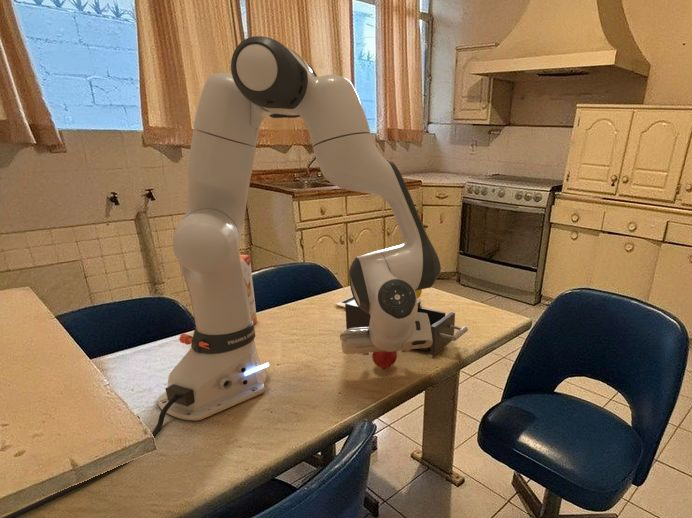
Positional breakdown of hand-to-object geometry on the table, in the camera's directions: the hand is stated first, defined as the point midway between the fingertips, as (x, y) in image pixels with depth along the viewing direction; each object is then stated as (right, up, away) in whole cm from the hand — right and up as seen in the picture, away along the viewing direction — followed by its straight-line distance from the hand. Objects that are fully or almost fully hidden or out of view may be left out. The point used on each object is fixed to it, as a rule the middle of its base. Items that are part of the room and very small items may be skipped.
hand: (385, 350), depth 108 cm
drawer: (+10, +1, +15) cm, 18 cm away
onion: (0, -5, +2) cm, 5 cm away
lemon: (+6, +13, +47) cm, 49 cm away
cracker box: (-43, +4, +22) cm, 49 cm away
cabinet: (-2, +3, +21) cm, 22 cm away
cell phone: (-12, +13, +46) cm, 49 cm away
